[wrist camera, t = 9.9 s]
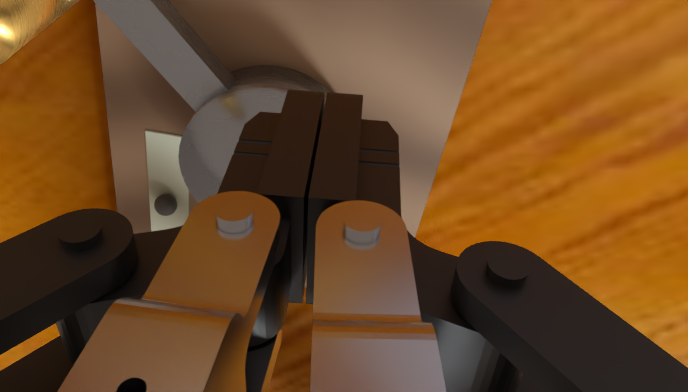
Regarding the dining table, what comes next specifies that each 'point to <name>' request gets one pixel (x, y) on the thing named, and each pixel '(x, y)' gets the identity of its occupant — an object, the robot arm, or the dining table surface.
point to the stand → (304, 56)
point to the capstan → (177, 77)
